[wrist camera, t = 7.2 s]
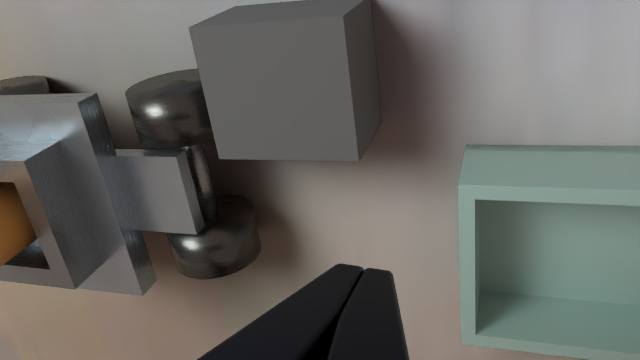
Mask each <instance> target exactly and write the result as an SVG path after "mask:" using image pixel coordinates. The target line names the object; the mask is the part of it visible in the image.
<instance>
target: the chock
mask: <svg viewBox="0 0 640 360" xmlns="http://www.w3.org/2000/svg"><path fill="white" fill-rule="evenodd" d="M189 32H190V36H191V40H192V44H193V49H194V53H195V57H196V62H197V66H198V70H199V75H200V79H201V83H202V87H203V92H204V96H205V100H206V105H207V109H208V113H209V118H210V122H211V126H212V131H213V135H214V139H215V143H216V148H217V152H218V156H219V159H247V160H304V161H359V160H360V159H361V157H362V155H363V153H364V152H365V150H366V148H367V147H368V145H369V143H370V141H371V140H372V138H373V136H374V135H375V133H376V131H377V129H378V128H379V126H380V124H381V122H382V119H381V108H380V96H379V84H378V73H377V61H376V49H375V38H374V26H373V15H372V3H371V0H303V1H291V2H280V3H268V4H256V5H245V6H235V7H233V8H231V9H228V10H226V11H224V12H222V13H220V14H217V15H215V16H213V17H211V18H208V19H206V20H204V21H202V22H200V23H197V24H195V25H193V26H191V27H189Z"/></svg>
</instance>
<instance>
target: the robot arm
mask: <svg viewBox="0 0 640 360" xmlns="http://www.w3.org/2000/svg"><path fill="white" fill-rule="evenodd" d="M197 360H409V355H408V350H407V345H406V340H405V335H404V330H403V324H402V319H401V314H400V309H399V304H398V299H397V294H396V289H395V284H394V279H393V274H392V273H391V272H390V271H387V270H380V269H373V268H367V269H365V270H364V269H363V268H362V267H360V266H354V265H347V264H337V265H335V266H334V267H332V268H331V269H329V270H328V271H326V272H325V273H323V274H322V275H320V276H319V277H317V278H316V279H314V280H313V281H312V282H310V283H309V284H307V285H306V286H304V287H303V288H301V289H300V290H298V291H297V292H295V293H294V294H292V295H291V296H290V297H288V298H287V299H285V300H284V301H282V302H281V303H279V304H278V305H276V306H275V307H273V308H272V309H270V310H269V311H268V312H266V313H265V314H263V315H262V316H260V317H259V318H257V319H256V320H254V321H253V322H251V323H250V324H248V325H247V326H246V327H244V328H243V329H241V330H240V331H238V332H237V333H235V334H234V335H232V336H231V337H229V338H228V339H226V340H225V341H224V342H222V343H221V344H219V345H218V346H216V347H215V348H213V349H212V350H210V351H209V352H207V353H206V354H204V355H203V356H202V357H200V358H199V359H197Z"/></svg>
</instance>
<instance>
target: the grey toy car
mask: <svg viewBox="0 0 640 360" xmlns="http://www.w3.org/2000/svg"><path fill="white" fill-rule="evenodd" d="M125 95H126V98H127V101H128V105H129V108H130V111H131V115H132V118H133V122H134V125H135V128H136V132H137V135H138V138H139V142H140V143H141V144H142V145H143V146H145V147H148V148H154V149H174V148H182V150H153V149H115V148H114V145H113V142H112V139H111V136H110V132H109V129H108V126H107V123H106V120H105V117H104V114H103V111H102V107H101V104H100V101H99V98H98V95H97V93H69V94H51V91H50V88H49V86H48V83H47V80H46V78H45V77H43V76H23V77H16V78H10V79H5V80H0V182H14V184H15V186H16V188H17V191H18V193H19V196H20V198H21V200H22V203H23V205H24V207H25V210H26V212H27V214H28V217H29V219H30V222H31V224H32V226H33V229H34V231H35V233H36V236H37V238H38V239H37V240H36V241H34V242H33V243H32V244H30V245H29V246H28V247H26V248H25V249H24V250H22V251H21V252H19V253H18V254H17V255H15V256H14V257H13V258H11V259H10V260H9V261H7V262H6V263H5V264H3V265H2V266H1V267H0V280H1V281H9V282H18V283H26V284H34V285H43V286H51V287H59V288H68V289H76V288H81V289H89V290H98V291H106V292H114V293H123V294H131V295H140V296H143V295H144V294H145V293H146V292H147V291H148V290H149V288H150V287H151V286H152V285H153V284H154V283H155V282H156V281H157V279H156V276H155V273H154V270H153V267H152V264H151V260H150V257H149V254H148V251H147V248H146V245H145V242H144V239H143V235H142V232H141V231H154V232H166V233H167V236H168V240H169V243H170V246H171V250H172V253H173V256H174V260H175V263H176V266H177V269H178V270H179V271H180V272H181V273H182V274H184V275H185V276H188V277H191V278H196V279H212V278H218V277H223V276H227V275H230V274H232V273H235V272H237V271H239V270H241V269H243V268H245V267H246V266H248V265H249V264H250V263H251V262H253V261H254V260H255V258H256V257H257V256H258V254H259V253H260V250H261V241H260V237H259V232H258V227H257V222H256V217H255V213H254V208H253V205H252V203H251V202H250V201H249V200H248V199H246V198H244V197H241V196H237V195H215V194H214V190H213V186H212V181H211V177H210V173H209V169H208V165H207V161H206V157H205V152H204V148H203V144H202V143H203V142H206V141H209V140H212V139H214V135H213V131H212V126H211V122H210V118H209V113H208V109H207V105H206V100H205V96H204V92H203V87H202V83H201V79H200V75H199V70H198V69H189V70H182V71H176V72H171V73H166V74H162V75H159V76H155V77H152V78H149V79H146V80H143V81H141V82H139V83H137V84H135V85H133V86H131V87H130V88H129V89H128V90H127V91H126V93H125Z"/></svg>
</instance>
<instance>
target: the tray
mask: <svg viewBox="0 0 640 360" xmlns="http://www.w3.org/2000/svg"><path fill="white" fill-rule="evenodd" d="M458 213H459V266H460V318H461V344H467V345H475V346H483V347H491V348H499V349H507V350H515V351H523V352H531V353H539V354H547V355H555V356H563V357H571V358H579V359H587V360H640V147H636V146H521V145H466V149H465V154H464V159H463V163H462V168H461V173H460V177H459V182H458Z"/></svg>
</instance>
